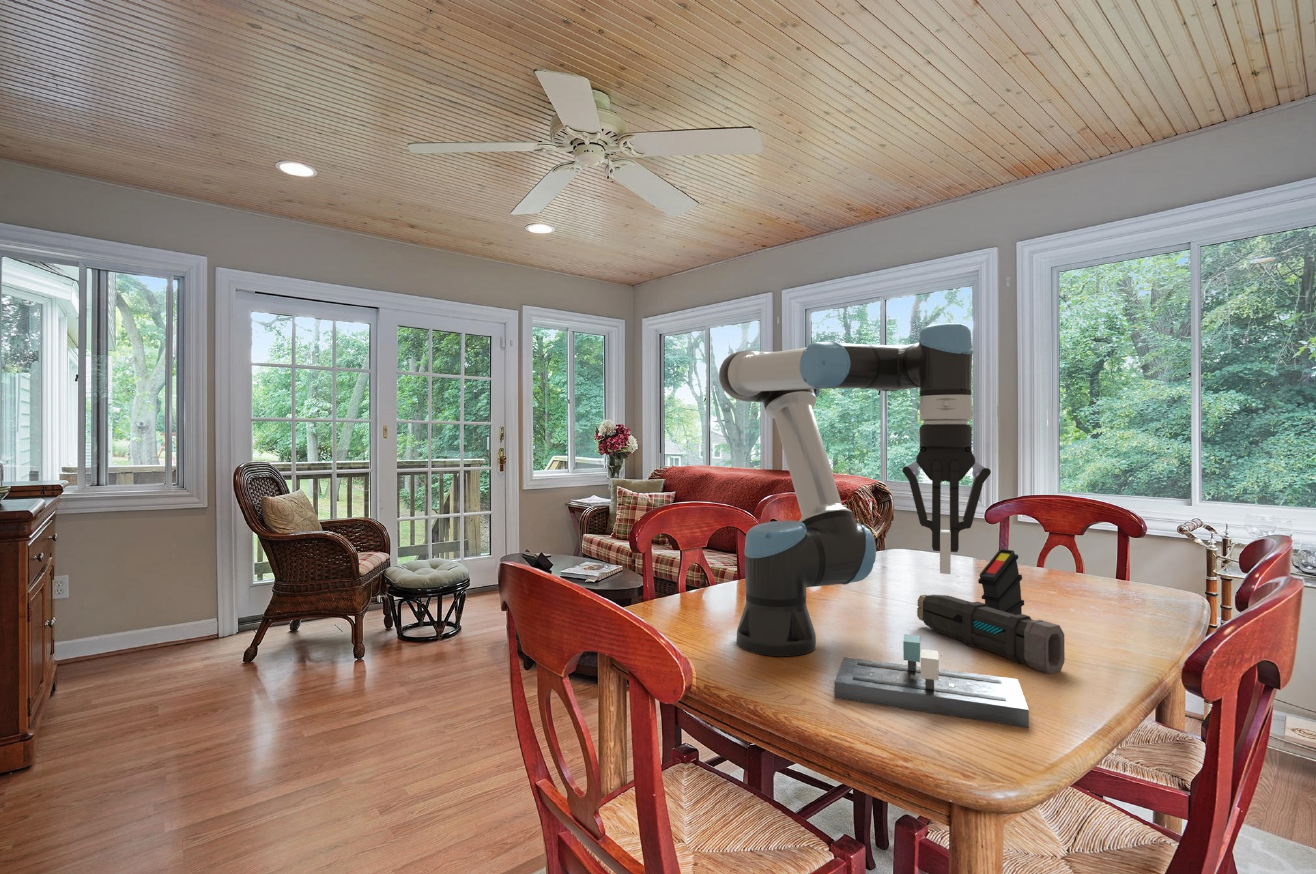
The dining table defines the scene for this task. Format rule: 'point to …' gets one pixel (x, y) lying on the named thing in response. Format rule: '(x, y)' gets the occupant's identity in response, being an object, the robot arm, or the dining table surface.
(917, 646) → the fader far
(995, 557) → the magazine
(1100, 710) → the dining table surface
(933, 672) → the fader near
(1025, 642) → the tube
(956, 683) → the console
